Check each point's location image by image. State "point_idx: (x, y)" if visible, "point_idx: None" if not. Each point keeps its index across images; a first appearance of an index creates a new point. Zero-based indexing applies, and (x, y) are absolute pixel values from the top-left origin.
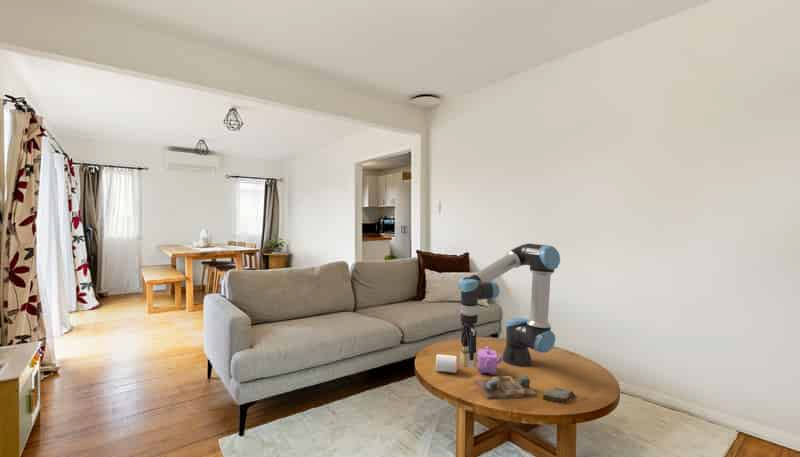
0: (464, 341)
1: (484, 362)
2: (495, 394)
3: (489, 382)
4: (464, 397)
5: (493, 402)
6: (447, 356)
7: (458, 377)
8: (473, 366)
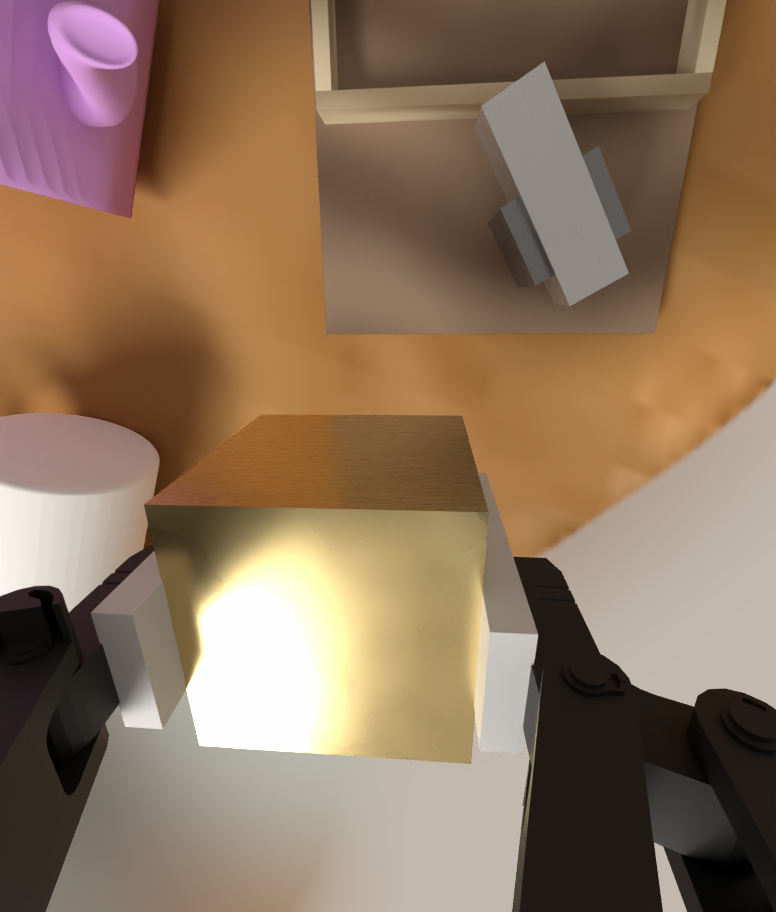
0: (39, 903)
1: (45, 101)
2: (649, 232)
3: (598, 267)
4: (569, 507)
5: (719, 298)
6: (7, 572)
7: (221, 438)
8: (485, 480)
